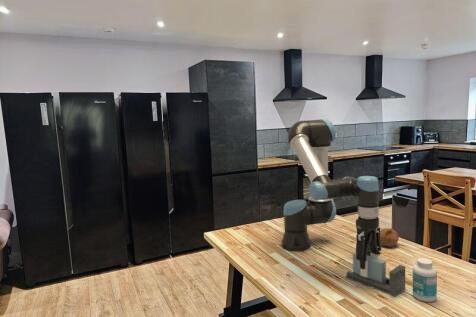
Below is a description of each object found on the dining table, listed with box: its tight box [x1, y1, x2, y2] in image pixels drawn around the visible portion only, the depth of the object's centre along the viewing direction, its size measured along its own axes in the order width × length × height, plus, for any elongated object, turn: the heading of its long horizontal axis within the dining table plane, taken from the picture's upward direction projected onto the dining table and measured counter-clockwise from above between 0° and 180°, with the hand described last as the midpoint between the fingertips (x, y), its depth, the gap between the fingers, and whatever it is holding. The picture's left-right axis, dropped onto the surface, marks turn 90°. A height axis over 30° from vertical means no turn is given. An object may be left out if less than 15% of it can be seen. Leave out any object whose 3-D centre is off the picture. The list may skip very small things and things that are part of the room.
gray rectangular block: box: [352, 252, 387, 284], centre depth 125 cm, size 12×3×9 cm, turn 38°
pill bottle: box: [412, 257, 438, 303], centre depth 112 cm, size 8×7×14 cm
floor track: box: [345, 264, 406, 297], centre depth 124 cm, size 20×8×9 cm, turn 38°
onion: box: [380, 227, 400, 248], centre depth 158 cm, size 10×9×10 cm
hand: (369, 272), depth 125 cm, fingers open, 7 cm apart
